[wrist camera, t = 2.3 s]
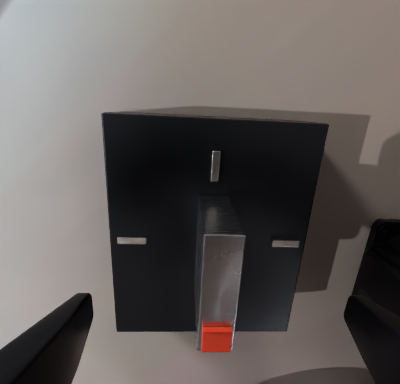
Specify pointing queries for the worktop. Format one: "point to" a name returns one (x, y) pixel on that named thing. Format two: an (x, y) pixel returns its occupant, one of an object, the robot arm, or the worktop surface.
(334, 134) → the worktop surface
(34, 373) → the robot arm
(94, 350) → the worktop surface
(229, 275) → the dial
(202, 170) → the dial panel
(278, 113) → the worktop surface
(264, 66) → the worktop surface
